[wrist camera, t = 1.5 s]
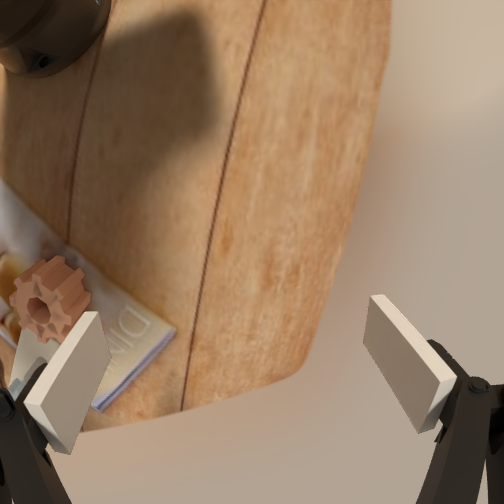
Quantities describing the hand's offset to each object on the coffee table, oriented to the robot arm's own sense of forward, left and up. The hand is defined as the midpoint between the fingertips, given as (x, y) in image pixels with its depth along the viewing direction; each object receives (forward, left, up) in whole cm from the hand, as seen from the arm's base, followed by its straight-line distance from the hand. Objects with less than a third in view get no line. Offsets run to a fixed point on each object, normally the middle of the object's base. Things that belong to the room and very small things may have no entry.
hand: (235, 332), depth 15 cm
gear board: (-12, -35, -20) cm, 42 cm away
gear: (-13, -18, -20) cm, 30 cm away
